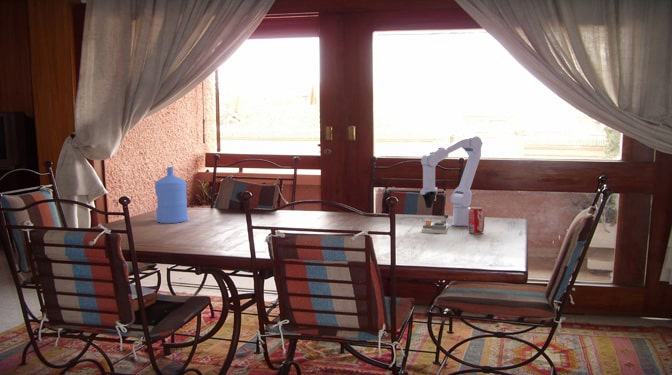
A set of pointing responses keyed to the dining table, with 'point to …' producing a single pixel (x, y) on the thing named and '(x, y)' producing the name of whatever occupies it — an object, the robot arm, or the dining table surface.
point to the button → (439, 224)
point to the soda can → (476, 220)
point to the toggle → (445, 217)
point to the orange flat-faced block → (428, 222)
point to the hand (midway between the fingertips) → (428, 207)
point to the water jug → (171, 198)
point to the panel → (435, 228)
